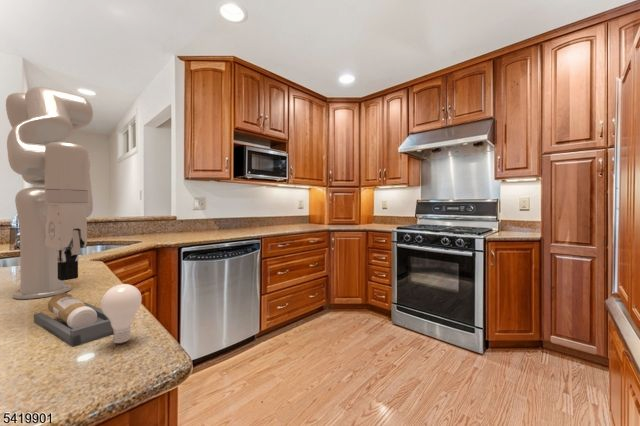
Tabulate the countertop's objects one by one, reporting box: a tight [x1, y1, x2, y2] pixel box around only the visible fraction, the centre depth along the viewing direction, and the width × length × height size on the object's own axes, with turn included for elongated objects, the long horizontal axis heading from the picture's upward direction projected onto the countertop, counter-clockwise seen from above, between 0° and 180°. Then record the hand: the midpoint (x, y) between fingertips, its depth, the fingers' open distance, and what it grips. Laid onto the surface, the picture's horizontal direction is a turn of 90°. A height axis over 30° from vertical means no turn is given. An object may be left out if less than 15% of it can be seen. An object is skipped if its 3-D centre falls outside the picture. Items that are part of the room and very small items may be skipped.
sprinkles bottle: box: [47, 292, 97, 329], centre depth 62 cm, size 5×5×13 cm
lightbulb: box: [100, 283, 143, 345], centre depth 54 cm, size 6×6×11 cm
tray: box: [33, 302, 114, 347], centre depth 63 cm, size 22×9×3 cm, turn 58°
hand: (68, 278), depth 66 cm, fingers closed
